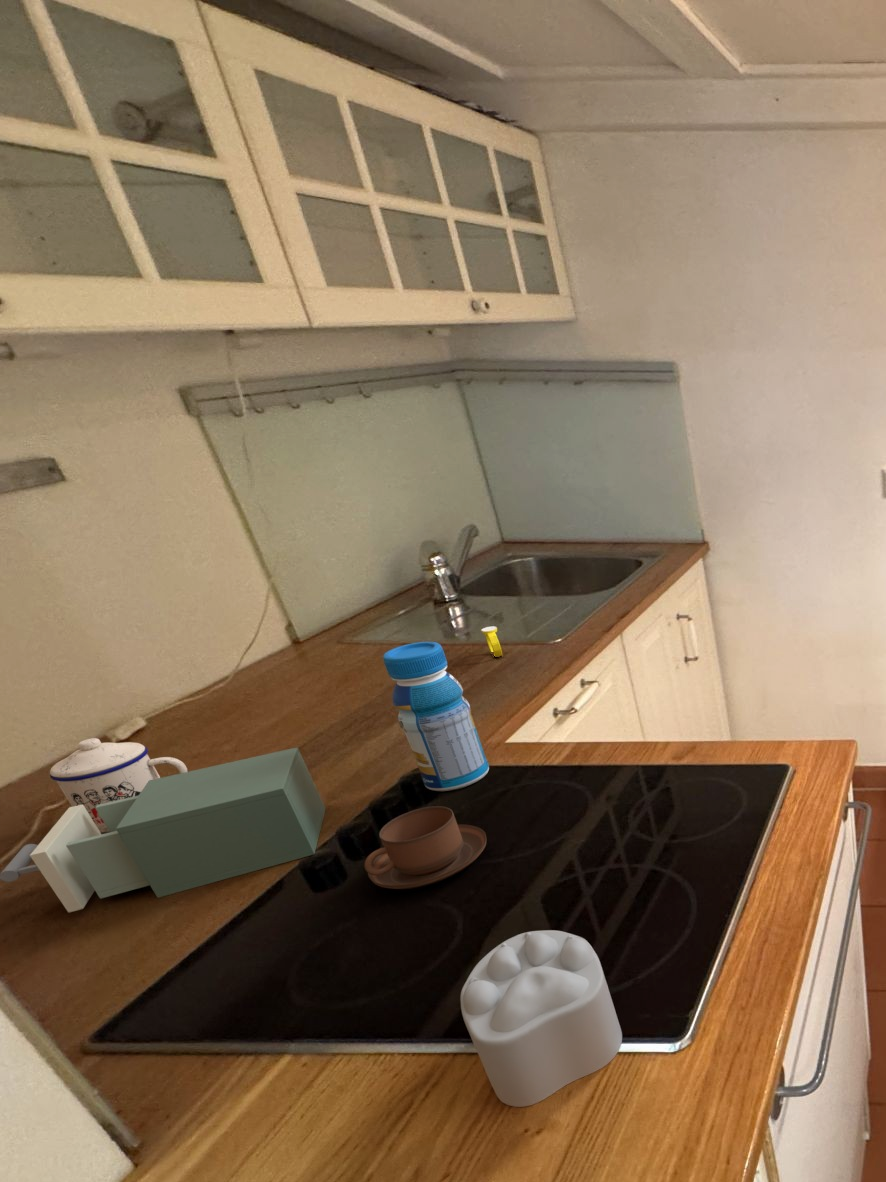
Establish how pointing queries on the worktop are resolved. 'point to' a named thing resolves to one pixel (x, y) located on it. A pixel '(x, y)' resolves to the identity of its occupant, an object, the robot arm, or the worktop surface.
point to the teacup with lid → (106, 774)
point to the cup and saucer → (423, 849)
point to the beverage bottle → (435, 717)
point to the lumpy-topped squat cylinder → (540, 1015)
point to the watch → (492, 640)
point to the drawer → (82, 857)
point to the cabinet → (223, 821)
